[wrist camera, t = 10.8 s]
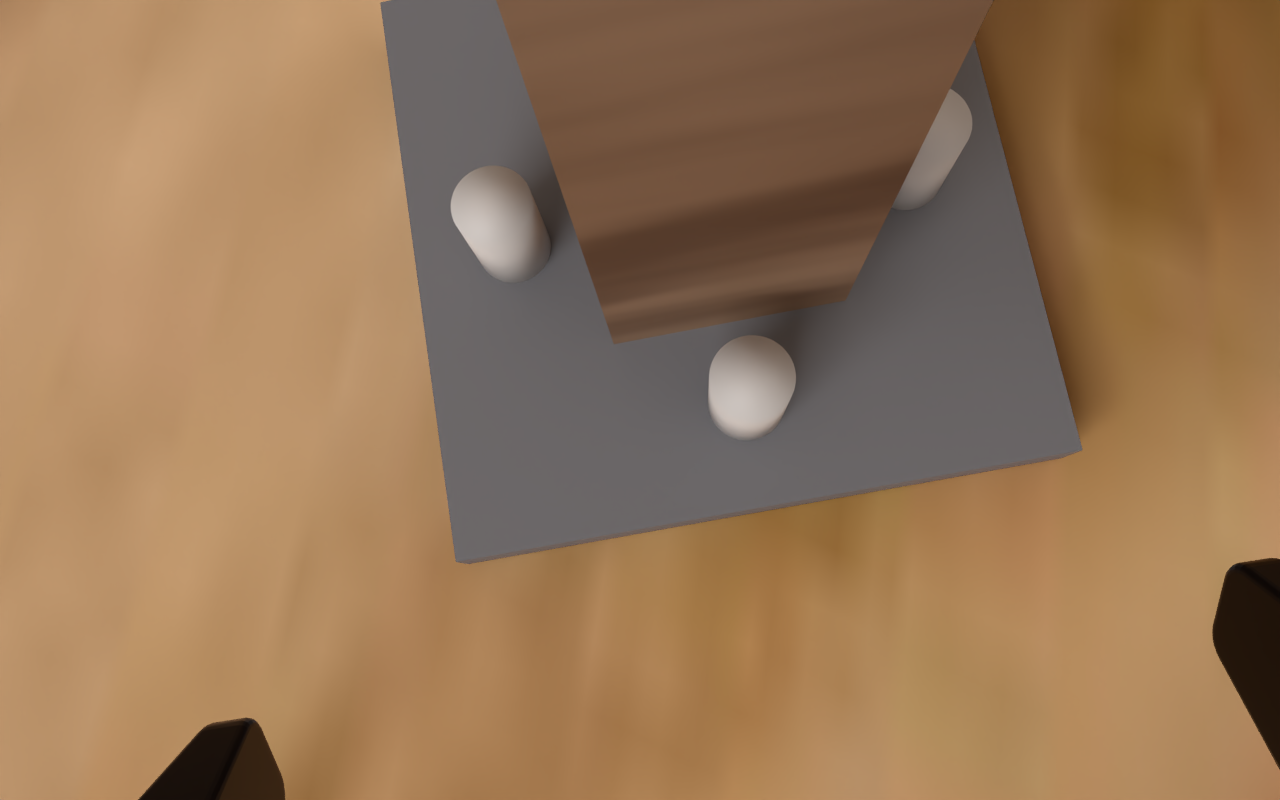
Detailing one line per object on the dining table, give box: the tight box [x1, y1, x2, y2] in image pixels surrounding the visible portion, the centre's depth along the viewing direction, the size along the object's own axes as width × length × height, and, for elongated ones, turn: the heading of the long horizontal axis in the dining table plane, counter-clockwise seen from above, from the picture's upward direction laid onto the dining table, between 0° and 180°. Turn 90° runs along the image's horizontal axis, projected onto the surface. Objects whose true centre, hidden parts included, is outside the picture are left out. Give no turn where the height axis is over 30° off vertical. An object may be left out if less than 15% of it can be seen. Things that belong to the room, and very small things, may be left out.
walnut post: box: [496, 0, 993, 344], centre depth 15 cm, size 5×5×14 cm
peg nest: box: [381, 0, 1082, 564], centre depth 21 cm, size 13×13×4 cm
